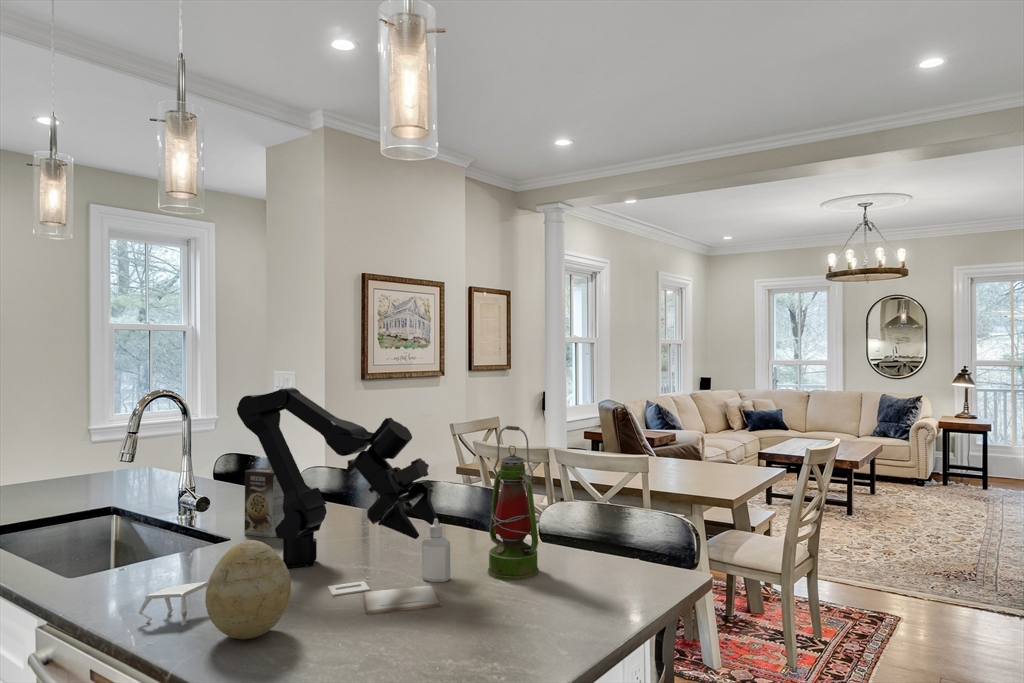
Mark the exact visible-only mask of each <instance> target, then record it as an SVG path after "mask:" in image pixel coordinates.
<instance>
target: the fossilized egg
mask: <svg viewBox="0 0 1024 683" xmlns="http://www.w3.org/2000/svg"><path fill="white" fill-rule="evenodd" d="M207 582H208V584H207V587H205V588H206V590H205V599H204V602H205V608H206V611H207V615H208V617H209V619H210V621H211V623H212V625H214V627H215V628H216V629H217V630H218V631H219V632H221V633H222V634H224V635H225V636H227V637H230V638H234V639H238V640H248V639H249V640H250V639H254V638H257V637H260V636H262V635H264V634H266V633H267V632H269V631H270V630H272V628H274V627H275V626H276V625H277V624H278V623H279V622H280V620H281V619H282V617H283V615H284V614H285V613H286V610H287V608H288V606H289V603H290V601H291V600H290V599H291V595H292V594H291V593H292V581H291V576H290V572H289V570H288V568H287V567H286V565H285V563H284V562H283V558H282V557H281V556H280V554H278V552H276V550H275V549H274V548H272V547H271V546H270V545H268V544H267V543H266V542H265V543H264V542H263V541H259V540H256V539H255V540H253V539H250V540H244V541H242V542H239V543H237V544H235V545H234V546H232V547H231V548H230V549H229V550H227V552H225V554H223V555H222V557H220V559H219V560H218V562H217V564H216V565H215V566H214V568H213V570H212V571H211V574H210V576H209V579H208V581H207Z"/></svg>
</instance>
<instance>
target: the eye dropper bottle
mask: <svg viewBox="0 0 1024 683" xmlns="http://www.w3.org/2000/svg"><path fill="white" fill-rule="evenodd" d="M438 520H439V518H438V519H434V523H433V525H430V526H429V537H426V538H425V539H423V540H422V542H421V543H422V544H421V579H422V580H423V581H426V582H432V583H433V582H434V583H446V582H447V581H448V580H450V579H451V542H450V540H449V539H447V538H446V537H443V526H442V524H441V523H440V524H439V523H438Z"/></svg>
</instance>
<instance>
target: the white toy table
mask: <svg viewBox="0 0 1024 683" xmlns="http://www.w3.org/2000/svg"><path fill="white" fill-rule="evenodd" d="M207 584H208V581H204V582H203V581H201V582H193V583H186V584H184V583H183V584H178V585H174V586H167V587H165V588H163V589H161V590H158V591H155V592H152V593H150V594H147V595H145V599H144V601H143V603H142V605H141V607H140V609H139V611H138V614H139V615H141V616H143V617H145V618H147V619H148V620H147V621H146V622H145V624H146V625H148V624H149V623H150V622H151V621H153V619H154V618H153V617H151V616H149V615H147V614H145V613H144V611H145V609H146V608H147V607H148V605H149V604H150V602H151V601H152V600H156V599H164V601H165V604H166V607H167V610H168V612H167V614H166V616H170V615H172V612H173V607H172V603H171V599H170V598H181V599H180V600H181V601H180V602H181V604H180V609H181V610H180V612H181V617H182V619H181V624H180V625H181V626H184V625H186V624H187V616H188V614H187V613H188V606H187V605H188V604H187V596H190V595H191V594H193V593H195V592H198V591H199V590H202V589H205V588H207Z"/></svg>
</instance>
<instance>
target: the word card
mask: <svg viewBox="0 0 1024 683" xmlns="http://www.w3.org/2000/svg"><path fill="white" fill-rule="evenodd" d="M327 588H328V590H329V592H330V594H331V596H332V597H335V596H342V595H349V594H353V593H354V594H355V593H363V592H370V591H371V588H370V587H369V586H368V584H367V583H366V582H365V581H364V580H362V581H355V582H349V583H348V582H347V583H343V584H334V585H328V586H327Z"/></svg>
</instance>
